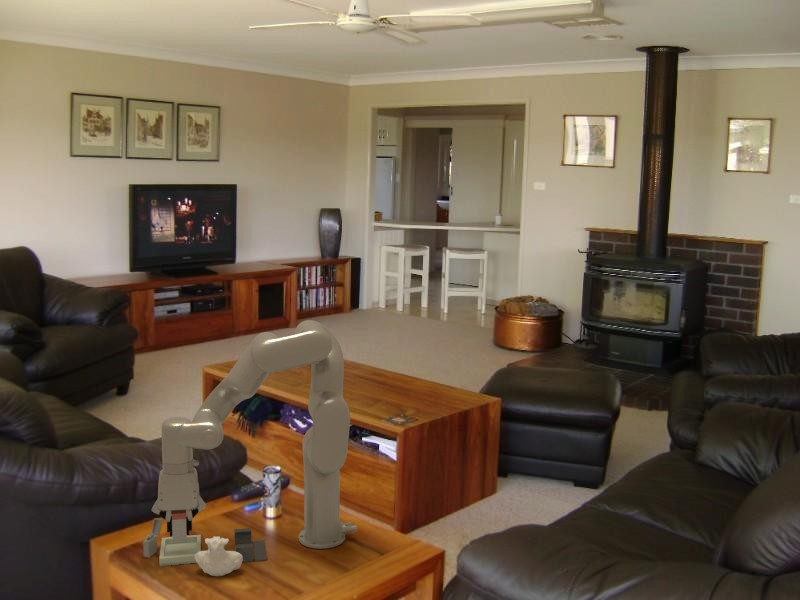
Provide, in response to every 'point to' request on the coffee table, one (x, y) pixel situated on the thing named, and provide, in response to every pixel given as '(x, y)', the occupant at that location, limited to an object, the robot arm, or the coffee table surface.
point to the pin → (179, 526)
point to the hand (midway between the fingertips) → (179, 533)
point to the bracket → (249, 546)
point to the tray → (179, 551)
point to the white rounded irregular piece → (218, 558)
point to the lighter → (152, 539)
